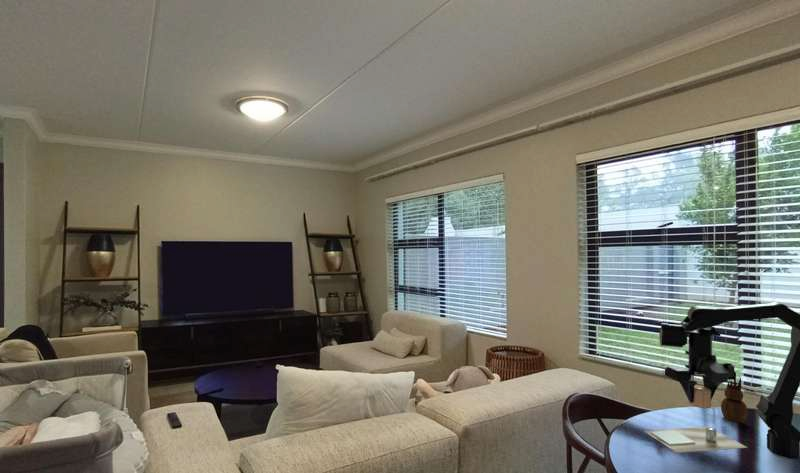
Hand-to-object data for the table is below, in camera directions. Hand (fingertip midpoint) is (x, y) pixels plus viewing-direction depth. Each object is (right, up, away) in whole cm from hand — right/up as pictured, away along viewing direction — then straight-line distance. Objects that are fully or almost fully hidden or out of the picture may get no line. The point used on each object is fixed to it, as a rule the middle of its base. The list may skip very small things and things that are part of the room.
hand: (699, 401), depth 130 cm
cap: (0, -1, 0) cm, 1 cm away
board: (-1, -12, +1) cm, 12 cm away
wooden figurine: (+21, -12, +15) cm, 29 cm away
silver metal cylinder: (+3, -11, -1) cm, 12 cm away
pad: (-7, -11, +1) cm, 14 cm away
